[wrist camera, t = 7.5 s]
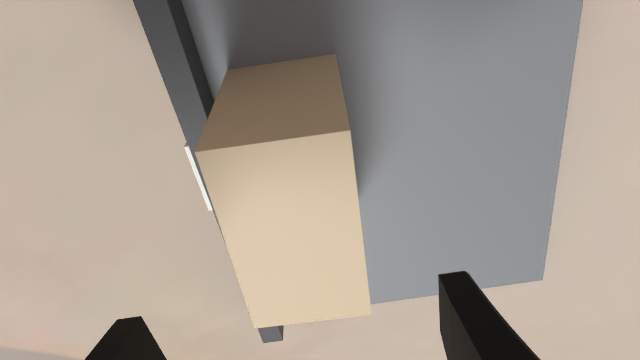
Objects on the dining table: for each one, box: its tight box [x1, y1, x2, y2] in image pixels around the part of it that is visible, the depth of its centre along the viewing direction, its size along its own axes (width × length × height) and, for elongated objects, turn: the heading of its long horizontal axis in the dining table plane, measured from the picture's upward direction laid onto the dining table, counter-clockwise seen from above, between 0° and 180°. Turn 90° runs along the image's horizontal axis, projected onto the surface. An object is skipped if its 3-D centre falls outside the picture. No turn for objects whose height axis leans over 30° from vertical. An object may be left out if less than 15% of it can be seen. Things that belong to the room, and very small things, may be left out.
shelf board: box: [133, 0, 583, 343], centre depth 16 cm, size 15×28×2 cm, turn 10°
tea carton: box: [195, 54, 372, 328], centre depth 16 cm, size 7×4×6 cm, turn 8°
